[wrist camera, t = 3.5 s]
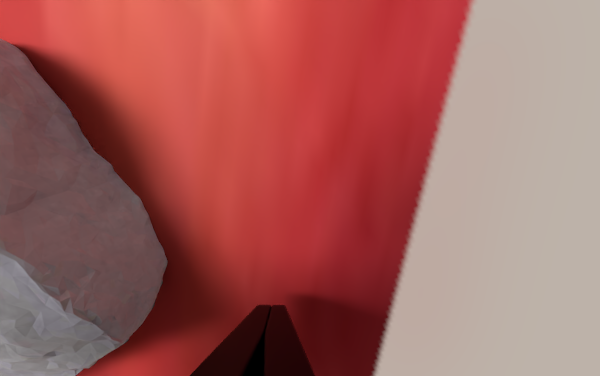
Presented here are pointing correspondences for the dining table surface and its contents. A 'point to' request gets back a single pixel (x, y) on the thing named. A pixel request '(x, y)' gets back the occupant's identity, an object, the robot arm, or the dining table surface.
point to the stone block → (64, 236)
